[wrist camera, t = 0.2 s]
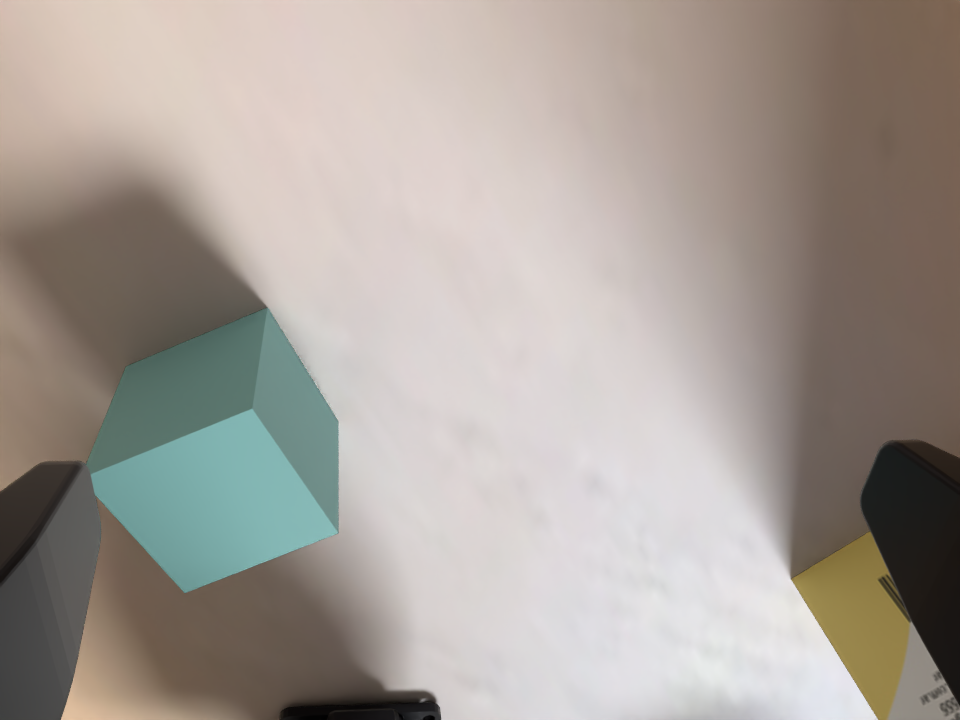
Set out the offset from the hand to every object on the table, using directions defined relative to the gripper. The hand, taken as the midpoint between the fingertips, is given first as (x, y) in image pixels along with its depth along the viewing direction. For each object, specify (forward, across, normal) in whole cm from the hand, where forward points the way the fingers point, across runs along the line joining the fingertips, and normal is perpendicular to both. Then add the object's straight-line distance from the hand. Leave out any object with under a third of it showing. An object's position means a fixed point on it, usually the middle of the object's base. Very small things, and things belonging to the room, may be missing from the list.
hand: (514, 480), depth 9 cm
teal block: (+14, +5, +8) cm, 17 cm away
